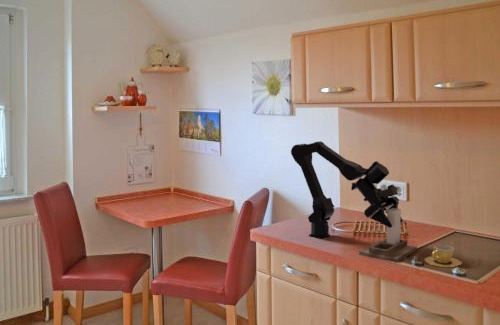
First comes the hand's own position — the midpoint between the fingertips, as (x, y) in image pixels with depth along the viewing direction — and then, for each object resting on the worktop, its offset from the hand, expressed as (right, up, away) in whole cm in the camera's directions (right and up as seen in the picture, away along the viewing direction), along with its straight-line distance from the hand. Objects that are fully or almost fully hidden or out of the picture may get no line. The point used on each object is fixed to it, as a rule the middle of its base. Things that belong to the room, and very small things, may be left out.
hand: (396, 224), depth 187 cm
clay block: (-1, -8, +2) cm, 9 cm away
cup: (+12, -12, -12) cm, 21 cm away
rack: (-3, -10, -1) cm, 11 cm away
